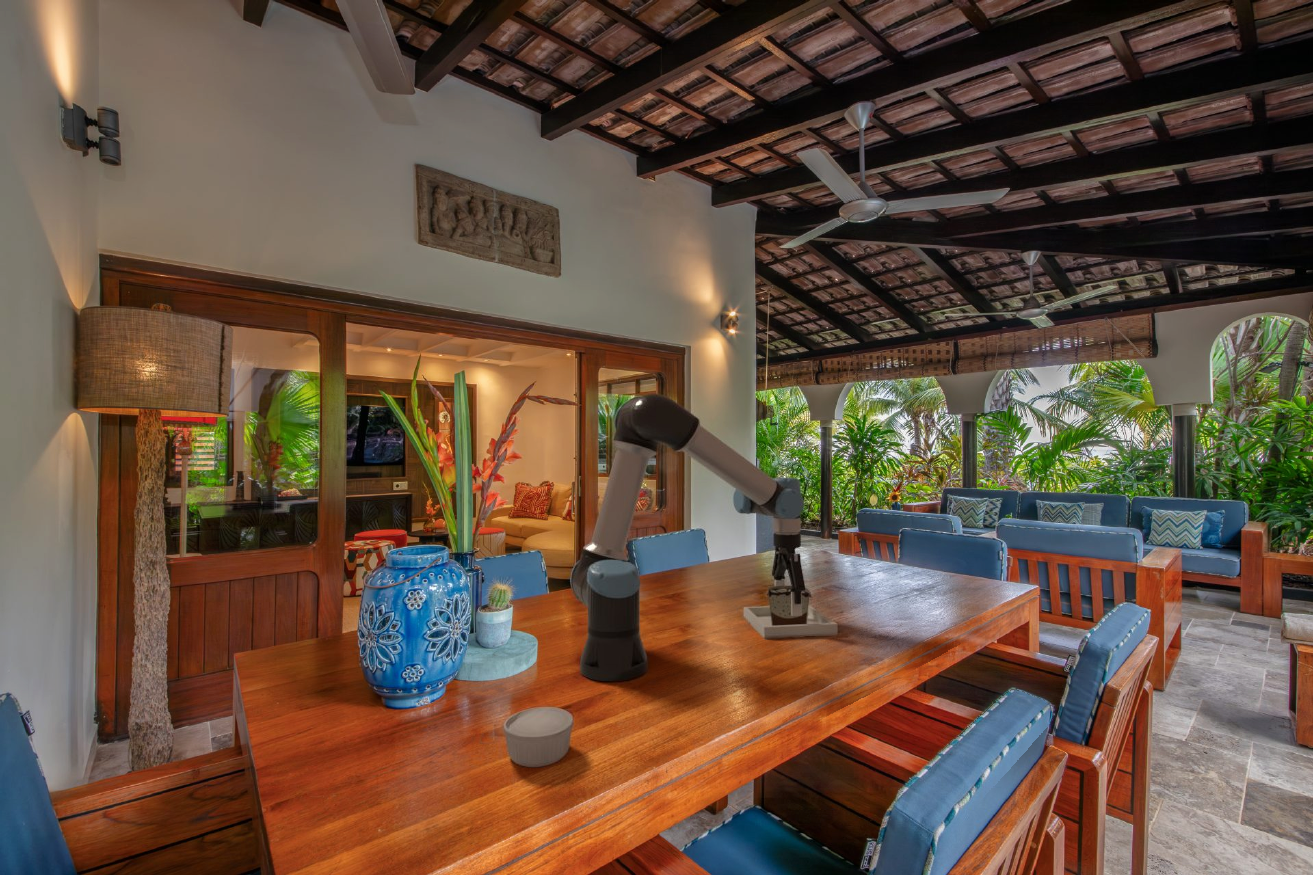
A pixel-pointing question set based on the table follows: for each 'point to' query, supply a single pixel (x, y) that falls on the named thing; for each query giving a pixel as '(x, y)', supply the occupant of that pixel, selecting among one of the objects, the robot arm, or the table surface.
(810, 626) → the tray
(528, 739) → the ramekin
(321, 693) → the table surface
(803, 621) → the grey brown half-round piece
